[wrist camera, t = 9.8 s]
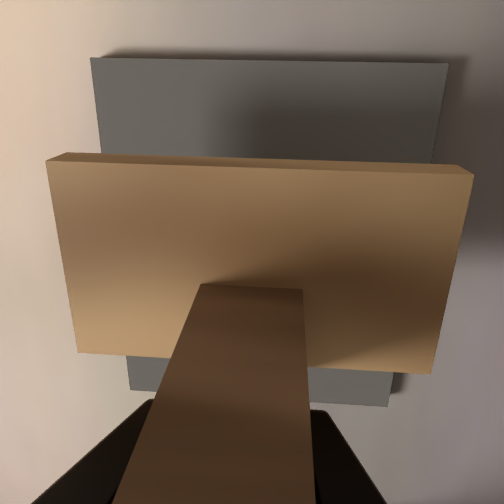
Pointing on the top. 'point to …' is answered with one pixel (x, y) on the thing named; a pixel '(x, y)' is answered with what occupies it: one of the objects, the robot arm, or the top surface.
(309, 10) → the top surface
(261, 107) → the rest mat
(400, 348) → the wooden stamp block
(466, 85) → the top surface
